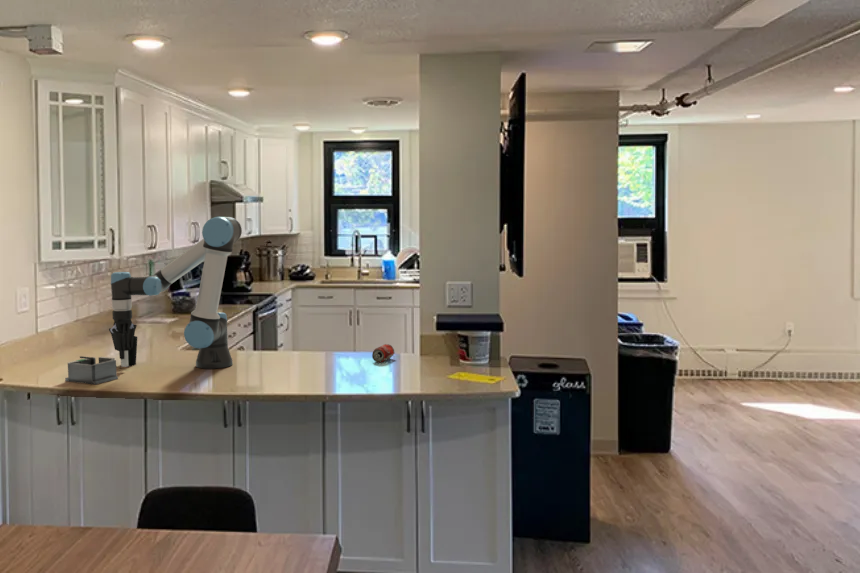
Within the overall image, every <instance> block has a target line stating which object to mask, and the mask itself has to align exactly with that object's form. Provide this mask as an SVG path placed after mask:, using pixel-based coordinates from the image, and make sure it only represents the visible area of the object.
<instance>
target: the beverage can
mask: <svg viewBox="0 0 860 573" xmlns="http://www.w3.org/2000/svg"><path fill="white" fill-rule="evenodd" d="M394 354H395V349H394V348H393V346H392V345H391V344H387V343H385V344H383V345H381V346H378V347H376V348H375V349H373V351H372V354H371V357H372V360H373V361H374V362H375V363H380V364H382V363H384V362H386V361H387V360H390V359H391V358H392V357H393V356H394Z"/></svg>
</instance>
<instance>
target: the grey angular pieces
mask: <svg viewBox="0 0 860 573" xmlns="http://www.w3.org/2000/svg"><path fill="white" fill-rule="evenodd" d="M93 357H94V356H82V355H80V356H79V359H91V365H93V364H94V358H93ZM110 360H116V358H115V357H109V356H100V357H98V363H101V362H106V361H110Z"/></svg>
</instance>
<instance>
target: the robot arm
mask: <svg viewBox="0 0 860 573" xmlns="http://www.w3.org/2000/svg"><path fill="white" fill-rule="evenodd" d="M201 231H202V232H201V234H202V235H201V236H202V238H203V239H201V240H199V241H198V242H197V243H196V244H194V245H192V246H191V247H190V248H188V249H187V250H186V251H184V252H183V253H182V254H181V255H179V256H177V257H176V258H175V259H174V260H172V261H171V262H169V263H168V264H166V265H165V266H164V267H162V268H161V269H159V270H158V271H157V272H155V273H154V274H151V275H147V276H132V275H131V272H128V271H116V272H112V273H111V274H110V289H111V290H110V291H111V309H112V320H113V321H114V322H113V326H112V327H110V328H108V331H109V333H110V335H111V339H112V343H113V347H114V350H115V351H118V354H119V359H120V367H124V368H125V367H126V368H127V367H130V366H129V363H128V358H129V350H131V349H130V348H132V347H133V342H134V336H135V332H136V329H137V327H138V325H137V324H134V323H133V321H132V319H133V310H132V309H133V304H132V302H133V301H132V296H157V295H159V294H161V292H164V291H166V290H167V289H168V288H169V287H170V286H171V285H172V284H173V283H175V282H176V281H177V280H179V279H180V278H181V277H183V276H184V275H186V274H187V273H189V272H190V271H192V270H193V269H195V268H196V267H197V266H198V265H200V264H202V263H203V266H202V272H201V278H200V285H199V290H198V295H197V300H196V305H195V309H193V310H192V311H191V313H190V317H189V322H188V323H187V325H186V326H185V328H184V331H183V335H184V340H185V341H186V343H187V344H188V345H189V346H190V347H192V348H195V349H198V350H199V351H198V353H197V356H196V360H195V367H196V368H198V369H203V370H204V369H205V370H207V369H210V370H211V369H223V368H228V367H231V366H233V358H232V355H231V353H230V349H229V345H228V344H229V341H228V339H229V338H228V315H227V313H225V312H219V311H218V310H219V305H220V299H221V293H222V288H223V282H224V278H225V273H226V272H225V271H226V267H227V262H228V257H229V255H231V254H232V253H233V250H234V244H235V243H237V242H238V241H239V240H240V239H241V236H242V233H243V232H242V231H243V230H242V225H241V224H240V222H239V221H238V220H237V219H236V218H234V217H231V216H215V217H212V218H210V219H209V220H207V221H206V222H205V223H204V225H203V227H202V230H201Z"/></svg>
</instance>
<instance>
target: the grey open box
mask: <svg viewBox="0 0 860 573" xmlns="http://www.w3.org/2000/svg"><path fill="white" fill-rule="evenodd" d="M92 357H93V358H94V364H93V365H91V359H84V358H79V359H76V360H73V361H68V362H67V375H68V376H67V377H65V379H64V380H65V382H69V383H71V382H72V383H81V384H85V385H86V384H88V385H95V386H96V385H99V384H104V383H106V382H112V381H115V380H118V379H119V376H118V374H117V360H116V359H115V360H110V361H106V362H101V363H99V362H97V361H96V359H97V358H96V356H95V357H94V356H92Z"/></svg>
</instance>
